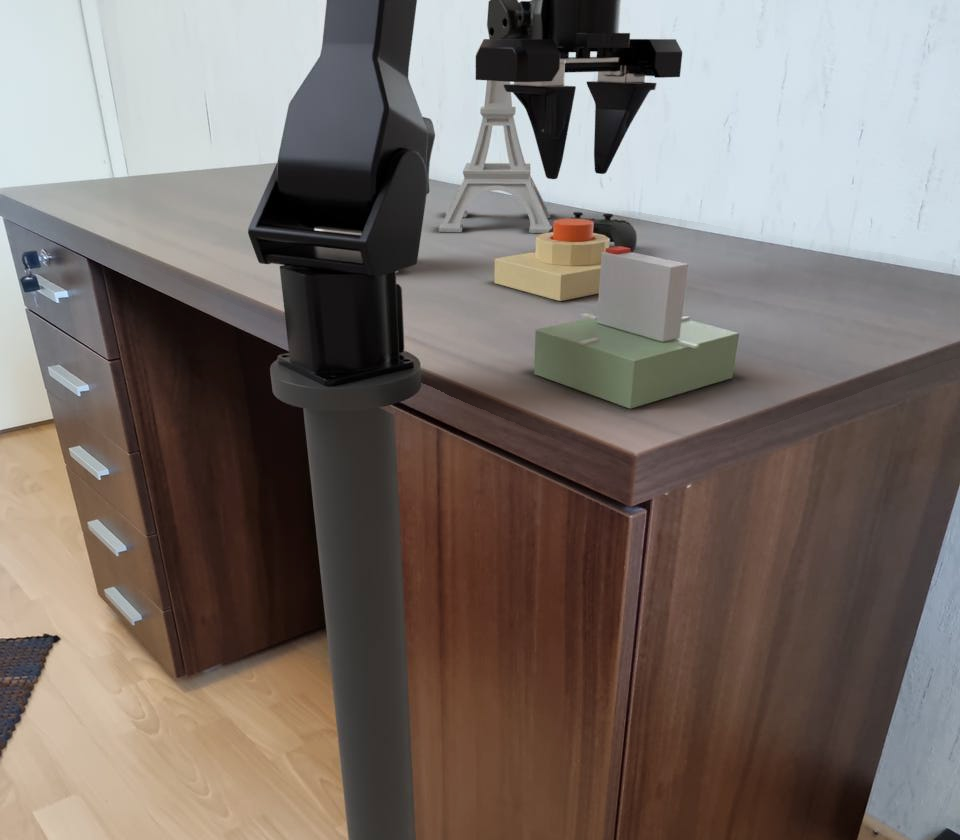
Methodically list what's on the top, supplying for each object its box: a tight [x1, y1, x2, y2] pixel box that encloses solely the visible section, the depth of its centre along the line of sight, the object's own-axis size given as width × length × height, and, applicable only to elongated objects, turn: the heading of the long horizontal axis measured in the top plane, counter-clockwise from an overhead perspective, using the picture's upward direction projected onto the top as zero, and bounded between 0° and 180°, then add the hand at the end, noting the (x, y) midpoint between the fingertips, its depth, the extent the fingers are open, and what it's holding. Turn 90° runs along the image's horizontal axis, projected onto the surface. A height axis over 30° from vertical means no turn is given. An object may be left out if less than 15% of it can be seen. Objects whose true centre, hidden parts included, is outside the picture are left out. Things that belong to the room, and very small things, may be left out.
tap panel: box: [533, 312, 740, 410], centre depth 62 cm, size 10×10×3 cm
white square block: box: [596, 246, 689, 342], centre depth 59 cm, size 6×2×5 cm, turn 38°
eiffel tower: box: [438, 80, 553, 234], centre depth 105 cm, size 13×13×30 cm
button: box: [552, 218, 594, 242], centre depth 83 cm, size 4×4×2 cm
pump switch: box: [494, 232, 611, 302], centre depth 85 cm, size 11×9×4 cm
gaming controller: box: [548, 211, 638, 252], centre depth 99 cm, size 10×5×6 cm
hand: (576, 176), depth 81 cm, fingers open, 6 cm apart
